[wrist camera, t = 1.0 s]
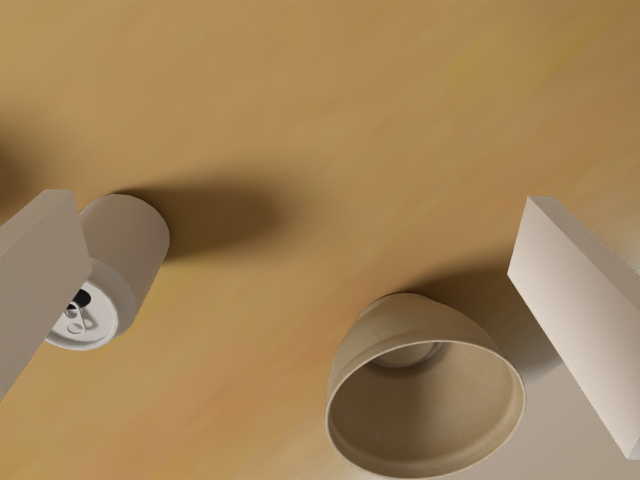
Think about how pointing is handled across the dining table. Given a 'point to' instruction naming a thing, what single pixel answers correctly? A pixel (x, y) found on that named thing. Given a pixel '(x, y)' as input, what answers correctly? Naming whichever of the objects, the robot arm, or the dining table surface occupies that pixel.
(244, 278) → the dining table surface
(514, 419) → the planter bowl
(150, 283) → the can
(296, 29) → the dining table surface
